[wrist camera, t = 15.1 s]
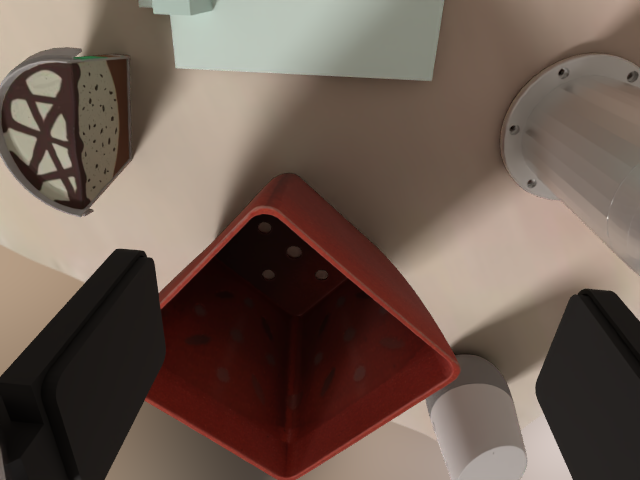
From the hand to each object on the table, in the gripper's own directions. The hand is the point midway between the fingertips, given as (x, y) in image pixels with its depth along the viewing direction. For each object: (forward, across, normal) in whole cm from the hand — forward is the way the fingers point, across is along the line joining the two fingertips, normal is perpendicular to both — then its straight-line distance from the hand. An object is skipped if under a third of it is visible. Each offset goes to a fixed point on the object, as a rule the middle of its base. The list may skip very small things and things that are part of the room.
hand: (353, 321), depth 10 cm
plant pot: (+32, +4, +18) cm, 37 cm away
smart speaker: (+33, -16, +33) cm, 50 cm away
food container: (+32, +22, +4) cm, 39 cm away
